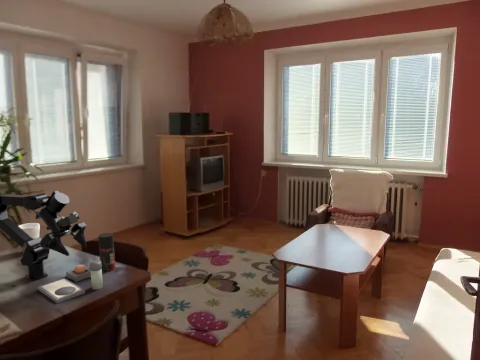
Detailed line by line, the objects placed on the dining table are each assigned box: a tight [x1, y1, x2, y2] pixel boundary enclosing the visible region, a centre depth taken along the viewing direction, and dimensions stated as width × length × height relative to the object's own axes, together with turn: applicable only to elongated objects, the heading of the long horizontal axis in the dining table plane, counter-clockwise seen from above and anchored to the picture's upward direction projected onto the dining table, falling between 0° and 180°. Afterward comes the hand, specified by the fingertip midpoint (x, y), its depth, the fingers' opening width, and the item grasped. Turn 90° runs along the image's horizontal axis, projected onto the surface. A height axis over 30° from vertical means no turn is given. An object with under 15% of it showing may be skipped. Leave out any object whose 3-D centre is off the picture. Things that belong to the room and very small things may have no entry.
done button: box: [74, 264, 86, 275], centre depth 153 cm, size 4×4×2 cm
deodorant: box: [97, 232, 116, 273], centre depth 159 cm, size 6×6×15 cm
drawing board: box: [37, 277, 86, 304], centre depth 139 cm, size 16×10×1 cm, turn 50°
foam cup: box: [18, 222, 41, 239], centre depth 179 cm, size 10×9×13 cm
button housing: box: [65, 265, 91, 282], centre depth 153 cm, size 8×8×2 cm
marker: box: [88, 259, 104, 291], centre depth 142 cm, size 4×4×10 cm
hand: (77, 251), depth 143 cm, fingers open, 9 cm apart
